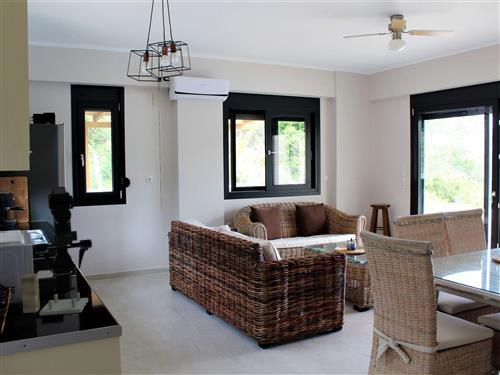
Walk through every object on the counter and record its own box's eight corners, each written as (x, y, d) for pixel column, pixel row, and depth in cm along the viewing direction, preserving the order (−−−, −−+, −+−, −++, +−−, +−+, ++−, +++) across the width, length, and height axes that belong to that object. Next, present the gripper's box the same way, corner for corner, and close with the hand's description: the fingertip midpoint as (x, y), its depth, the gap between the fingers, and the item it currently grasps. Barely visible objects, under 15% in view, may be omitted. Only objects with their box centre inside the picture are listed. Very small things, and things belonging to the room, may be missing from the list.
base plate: (50, 303, 182) (49, 292, 182) (88, 300, 184) (87, 290, 184) (39, 315, 168) (38, 303, 168) (80, 312, 170) (80, 300, 170)
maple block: (27, 309, 176) (24, 274, 176) (40, 308, 177) (37, 273, 176) (23, 313, 172) (21, 277, 171) (36, 312, 173) (34, 276, 172)
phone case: (54, 280, 221) (57, 272, 237) (54, 277, 221) (57, 269, 236) (33, 282, 219) (38, 274, 234) (33, 279, 219) (37, 270, 234)
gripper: (33, 226, 160) (36, 273, 158) (91, 221, 168) (95, 266, 165) (34, 230, 170) (37, 274, 168) (89, 225, 178) (92, 267, 175)
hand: (65, 270), depth 169 cm, fingers open, 9 cm apart
